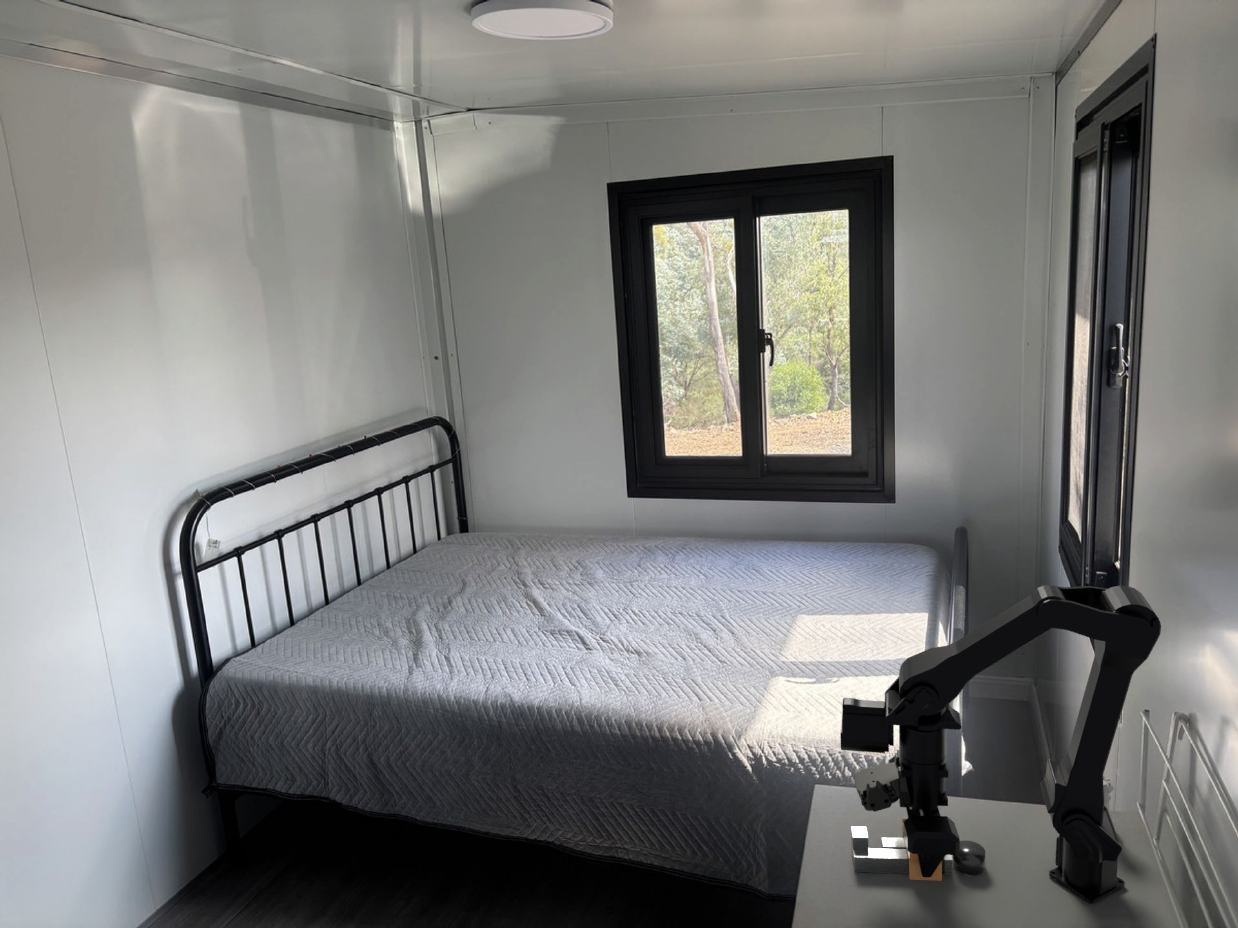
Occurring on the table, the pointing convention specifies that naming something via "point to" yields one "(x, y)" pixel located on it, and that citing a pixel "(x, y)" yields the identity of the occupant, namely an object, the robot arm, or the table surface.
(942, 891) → the table surface
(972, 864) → the tongs fixed
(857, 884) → the table surface
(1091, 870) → the robot arm
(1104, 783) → the rook chess piece
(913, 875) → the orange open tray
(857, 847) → the arm
